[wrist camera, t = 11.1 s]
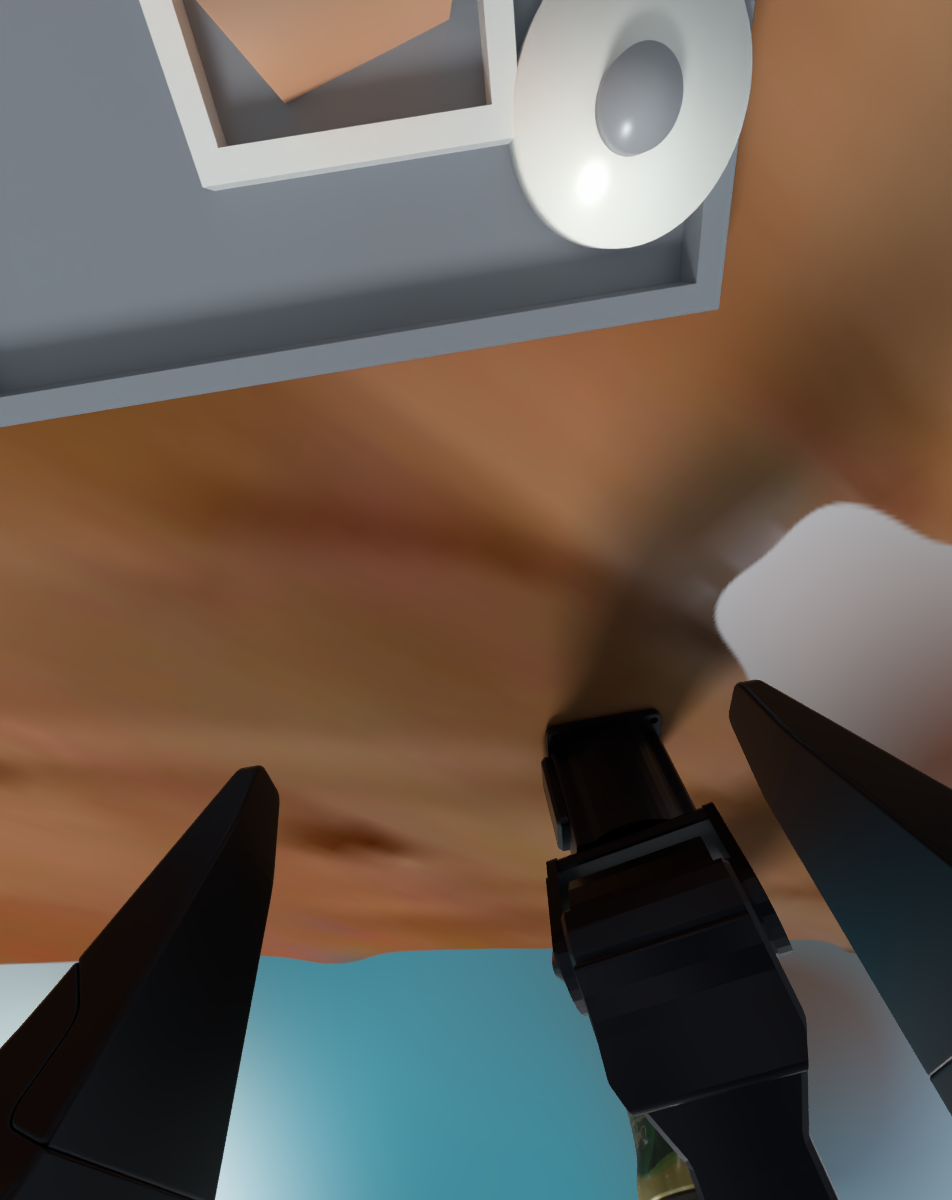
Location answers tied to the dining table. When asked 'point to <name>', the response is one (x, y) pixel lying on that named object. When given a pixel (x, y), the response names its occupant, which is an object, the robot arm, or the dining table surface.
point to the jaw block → (319, 35)
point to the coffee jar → (659, 1165)
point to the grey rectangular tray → (350, 192)
